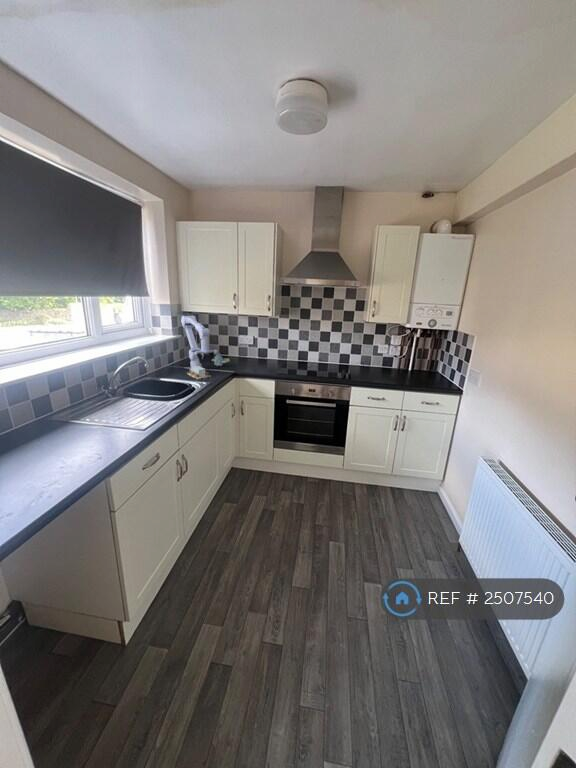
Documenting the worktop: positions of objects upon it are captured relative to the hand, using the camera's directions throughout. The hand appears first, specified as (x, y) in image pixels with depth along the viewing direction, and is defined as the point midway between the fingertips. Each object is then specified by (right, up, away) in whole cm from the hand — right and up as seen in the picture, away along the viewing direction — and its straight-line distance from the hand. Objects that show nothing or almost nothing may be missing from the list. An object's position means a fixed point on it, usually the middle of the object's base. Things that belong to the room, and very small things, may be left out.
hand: (205, 362), depth 227 cm
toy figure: (+3, -1, +30) cm, 31 cm away
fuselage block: (-4, -9, -2) cm, 10 cm away
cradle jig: (-4, -10, -2) cm, 11 cm away
